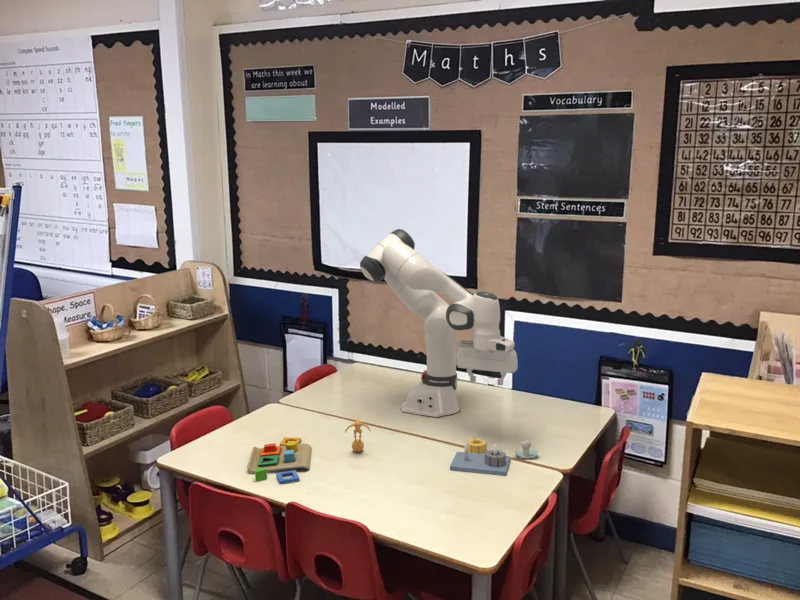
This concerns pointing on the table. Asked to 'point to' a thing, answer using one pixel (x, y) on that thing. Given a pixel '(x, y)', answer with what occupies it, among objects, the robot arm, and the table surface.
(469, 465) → the gear board
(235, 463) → the table surface
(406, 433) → the table surface
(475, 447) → the ochre gear
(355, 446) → the figurine
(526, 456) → the pacifier
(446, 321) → the robot arm
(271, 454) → the shape sorter
